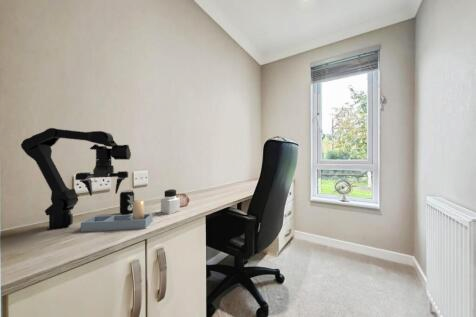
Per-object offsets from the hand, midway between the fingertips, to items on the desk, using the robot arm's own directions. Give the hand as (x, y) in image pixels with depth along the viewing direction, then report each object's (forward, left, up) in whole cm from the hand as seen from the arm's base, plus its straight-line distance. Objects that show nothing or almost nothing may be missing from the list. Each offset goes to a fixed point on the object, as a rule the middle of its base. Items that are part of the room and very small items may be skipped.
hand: (104, 194), depth 84 cm
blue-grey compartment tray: (+6, -7, -13) cm, 16 cm away
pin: (+14, -10, -12) cm, 21 cm away
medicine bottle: (+29, +6, -13) cm, 32 cm away
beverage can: (+8, +14, -13) cm, 21 cm away
